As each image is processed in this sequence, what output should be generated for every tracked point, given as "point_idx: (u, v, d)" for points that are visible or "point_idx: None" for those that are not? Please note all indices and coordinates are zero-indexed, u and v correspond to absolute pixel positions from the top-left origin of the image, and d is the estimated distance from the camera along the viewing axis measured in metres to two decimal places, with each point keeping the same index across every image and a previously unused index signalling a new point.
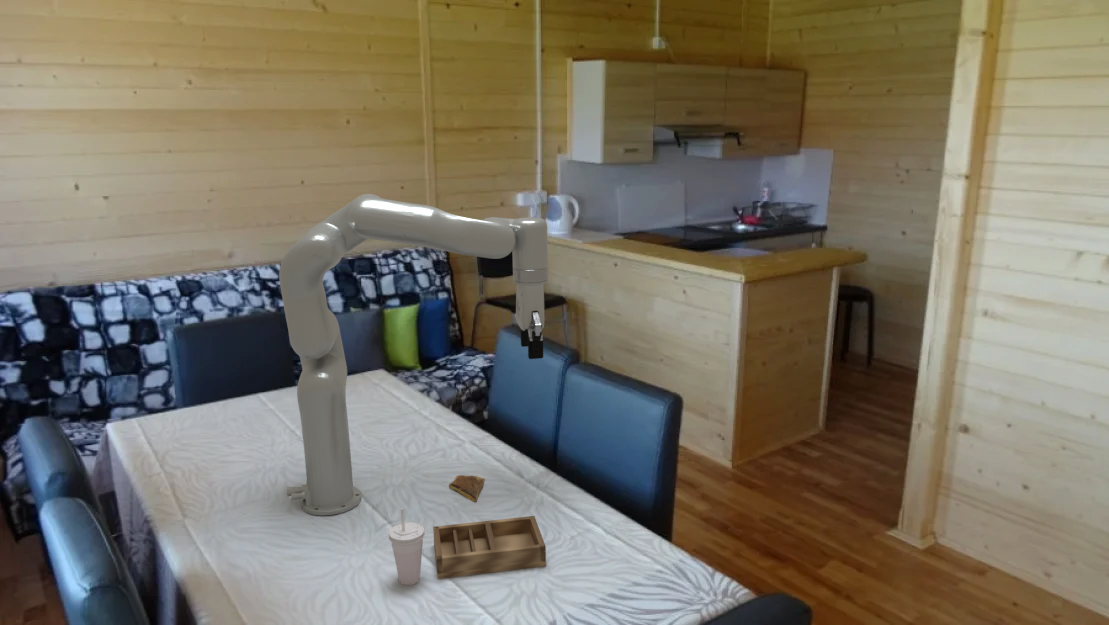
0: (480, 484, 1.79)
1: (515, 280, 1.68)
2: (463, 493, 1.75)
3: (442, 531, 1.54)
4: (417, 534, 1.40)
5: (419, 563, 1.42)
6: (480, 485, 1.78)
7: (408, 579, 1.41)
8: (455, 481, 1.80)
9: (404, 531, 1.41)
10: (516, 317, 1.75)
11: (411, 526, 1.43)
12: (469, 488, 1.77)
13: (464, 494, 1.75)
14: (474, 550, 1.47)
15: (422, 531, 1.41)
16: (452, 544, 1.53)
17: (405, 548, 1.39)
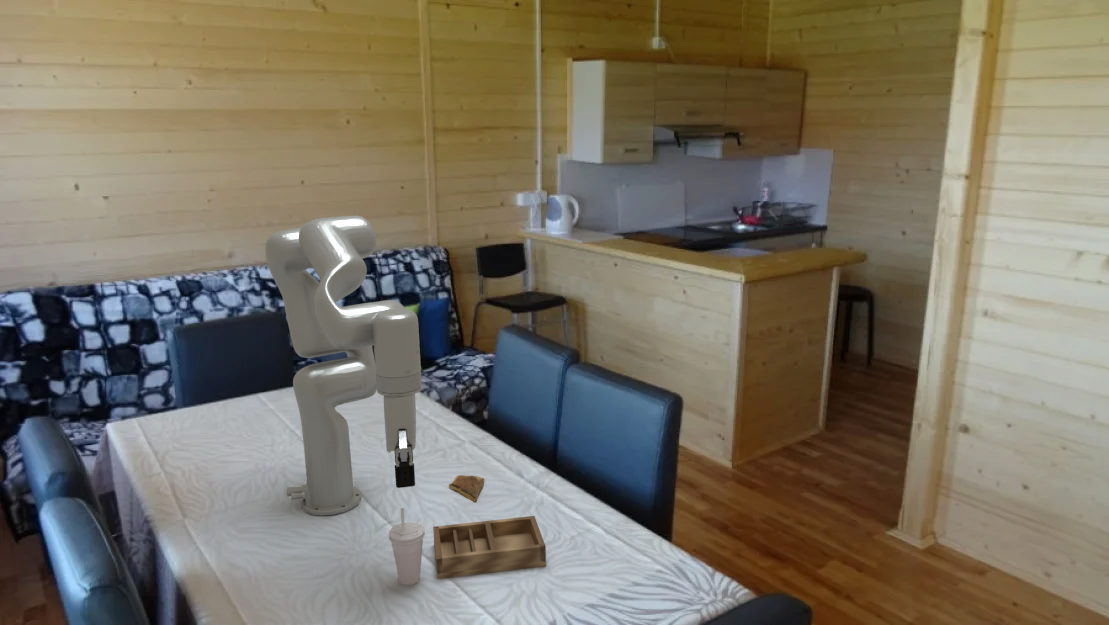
0: (480, 484, 1.79)
1: (378, 389, 1.33)
2: (463, 493, 1.75)
3: (442, 531, 1.54)
4: (417, 534, 1.40)
5: (419, 563, 1.42)
6: (480, 485, 1.78)
7: (408, 579, 1.41)
8: (455, 481, 1.80)
9: (404, 531, 1.41)
10: None
11: (411, 526, 1.43)
12: (469, 488, 1.77)
13: (464, 494, 1.75)
14: (474, 550, 1.47)
15: (422, 531, 1.41)
16: (452, 544, 1.53)
17: (405, 548, 1.39)
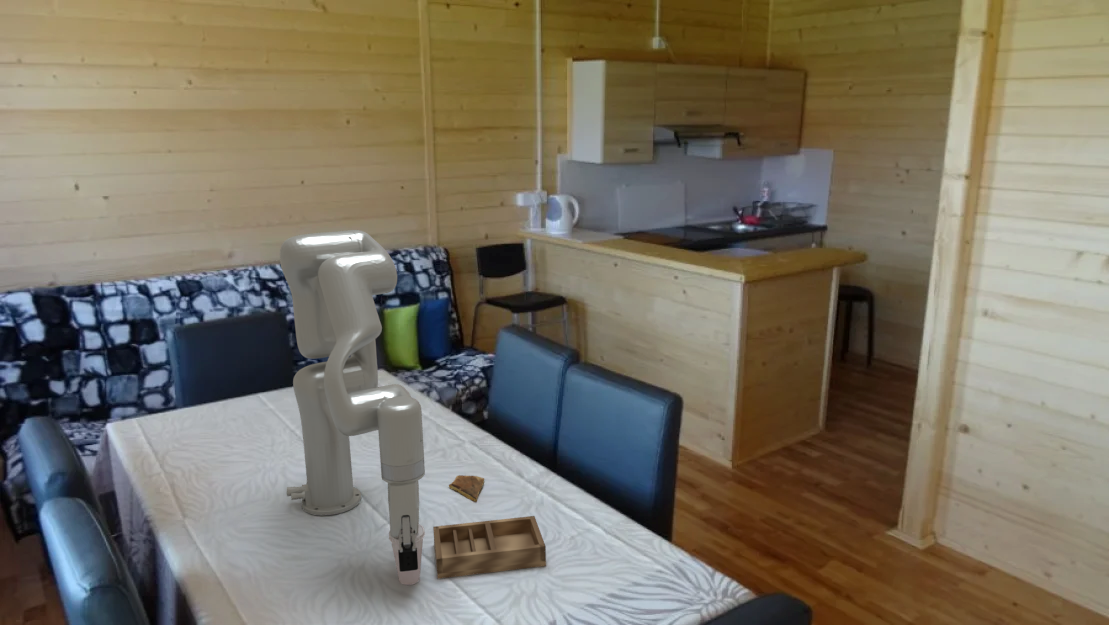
0: (480, 484, 1.79)
1: (382, 475, 1.37)
2: (463, 493, 1.75)
3: (442, 531, 1.54)
4: (417, 534, 1.40)
5: (419, 563, 1.42)
6: (480, 485, 1.78)
7: (408, 579, 1.41)
8: (455, 481, 1.80)
9: None
10: None
11: None
12: (469, 488, 1.77)
13: (464, 494, 1.75)
14: (474, 550, 1.47)
15: (422, 531, 1.41)
16: (452, 544, 1.53)
17: None
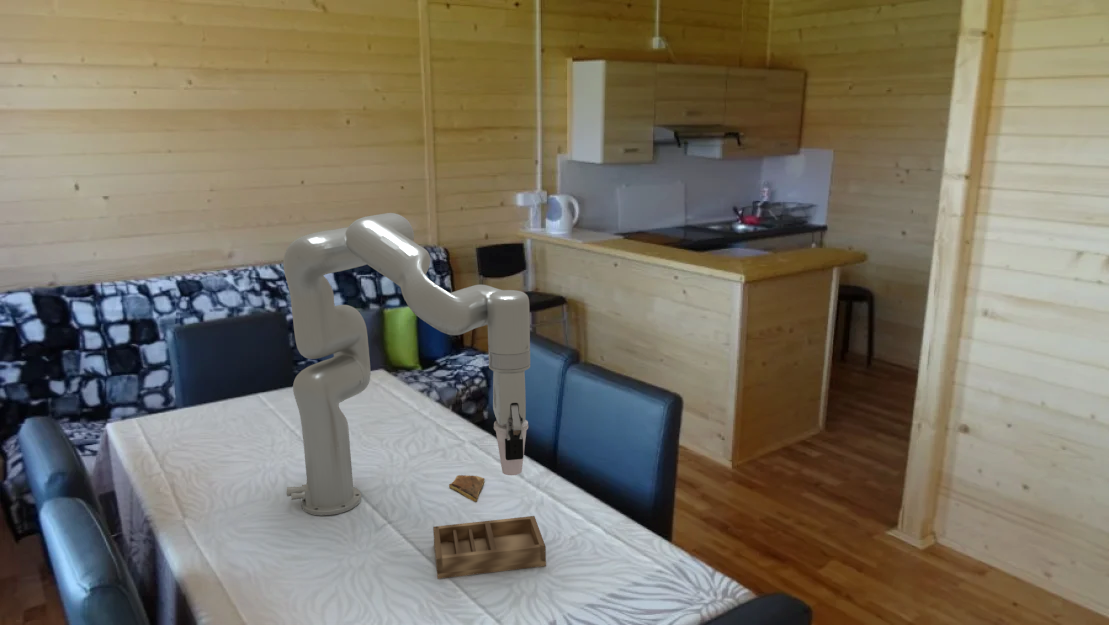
0: (480, 484, 1.79)
1: (491, 365, 1.41)
2: (463, 493, 1.75)
3: (442, 531, 1.54)
4: (522, 425, 1.45)
5: None
6: (480, 485, 1.78)
7: (512, 469, 1.46)
8: (455, 481, 1.80)
9: (509, 422, 1.45)
10: (493, 405, 1.48)
11: None
12: (470, 488, 1.77)
13: (464, 494, 1.75)
14: (474, 550, 1.47)
15: (526, 423, 1.46)
16: (452, 544, 1.53)
17: None
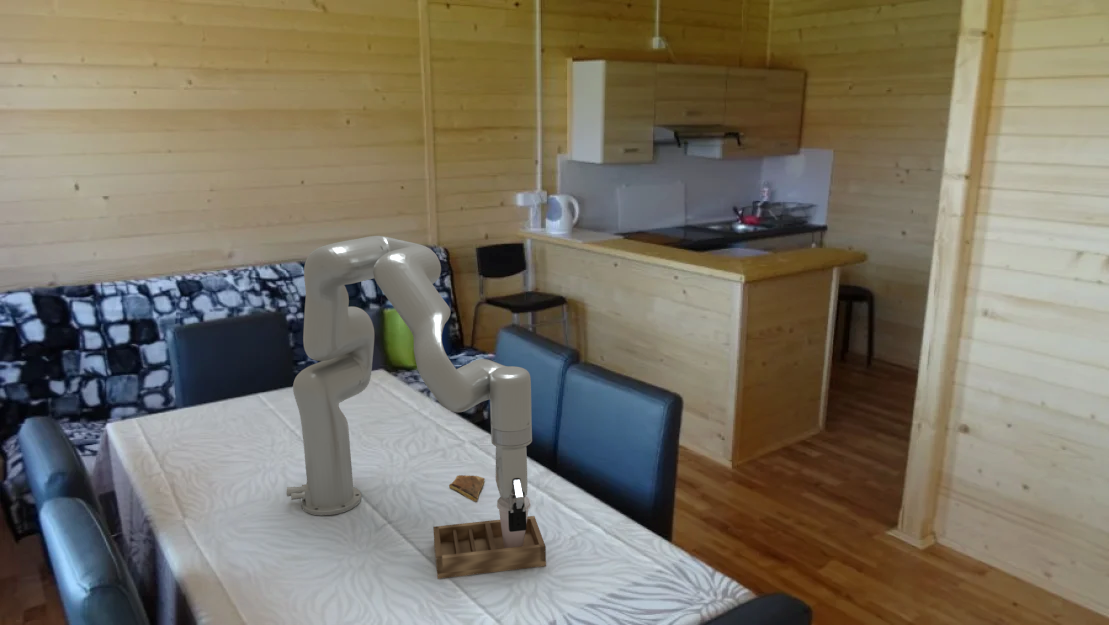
0: (480, 484, 1.79)
1: (493, 441, 1.45)
2: (464, 493, 1.75)
3: (442, 531, 1.54)
4: None
5: (524, 532, 1.50)
6: (480, 485, 1.78)
7: (514, 546, 1.50)
8: (455, 481, 1.80)
9: (512, 501, 1.49)
10: None
11: None
12: (470, 488, 1.77)
13: (465, 494, 1.75)
14: (474, 550, 1.47)
15: (528, 501, 1.50)
16: (452, 544, 1.53)
17: None
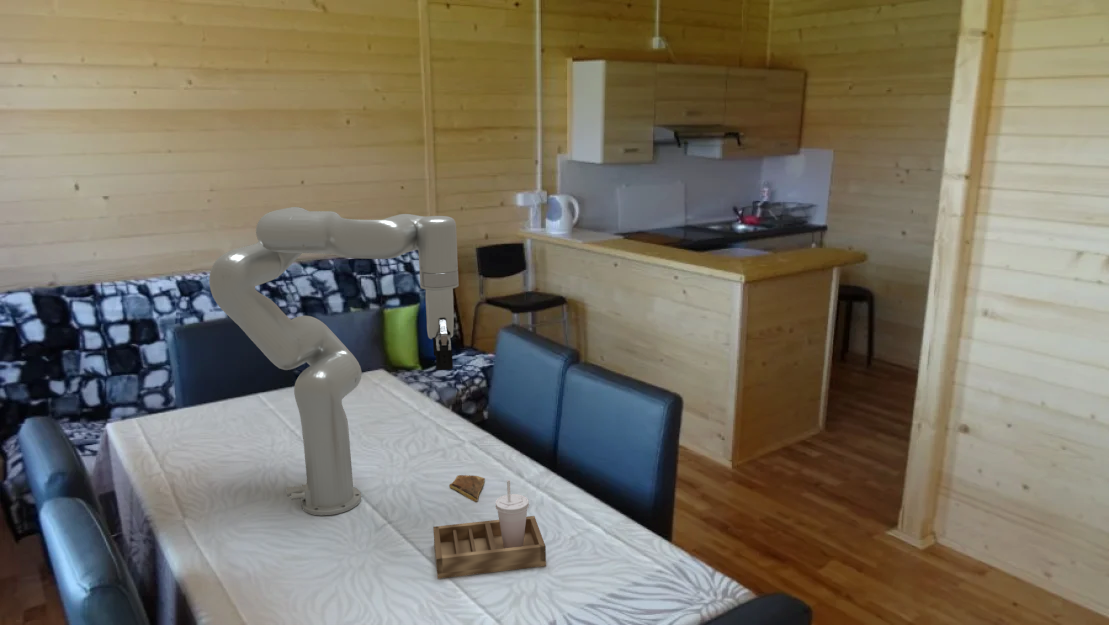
0: (481, 484, 1.79)
1: (421, 284, 1.55)
2: (464, 493, 1.75)
3: (442, 531, 1.54)
4: (523, 504, 1.49)
5: (523, 532, 1.50)
6: (480, 485, 1.78)
7: (514, 546, 1.50)
8: (456, 481, 1.80)
9: (510, 501, 1.49)
10: None
11: (515, 497, 1.51)
12: (470, 488, 1.77)
13: (465, 494, 1.75)
14: (474, 550, 1.47)
15: (527, 501, 1.50)
16: (452, 544, 1.53)
17: (512, 517, 1.47)
